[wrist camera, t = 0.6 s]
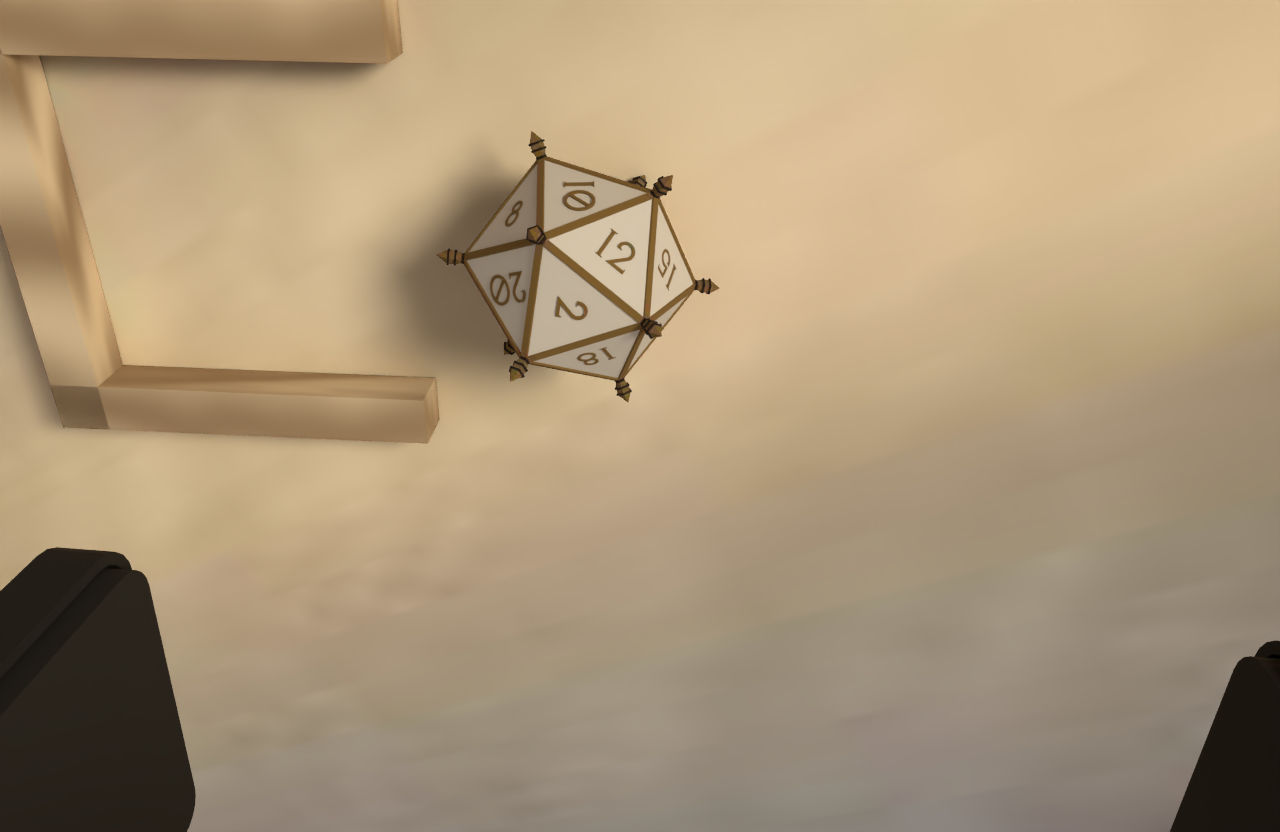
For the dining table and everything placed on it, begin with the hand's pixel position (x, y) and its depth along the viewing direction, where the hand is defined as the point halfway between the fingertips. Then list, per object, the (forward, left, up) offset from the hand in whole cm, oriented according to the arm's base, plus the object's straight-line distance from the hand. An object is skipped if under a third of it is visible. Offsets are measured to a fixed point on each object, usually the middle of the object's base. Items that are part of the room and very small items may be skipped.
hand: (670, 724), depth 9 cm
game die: (+6, -4, -31) cm, 32 cm away
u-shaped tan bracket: (+6, -19, -31) cm, 36 cm away
